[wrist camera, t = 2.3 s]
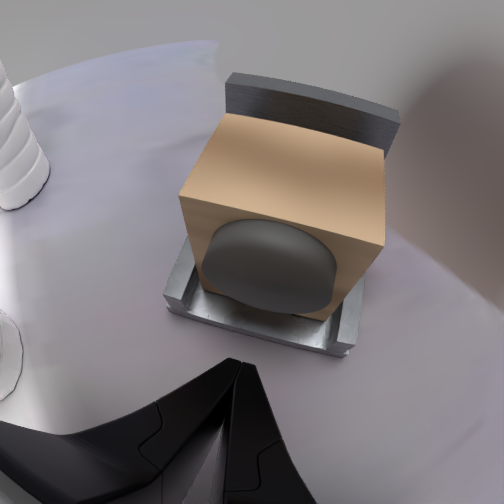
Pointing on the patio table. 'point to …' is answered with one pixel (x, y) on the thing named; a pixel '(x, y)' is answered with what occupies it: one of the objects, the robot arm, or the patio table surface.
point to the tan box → (284, 215)
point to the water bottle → (18, 152)
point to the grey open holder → (310, 117)
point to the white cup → (9, 355)
